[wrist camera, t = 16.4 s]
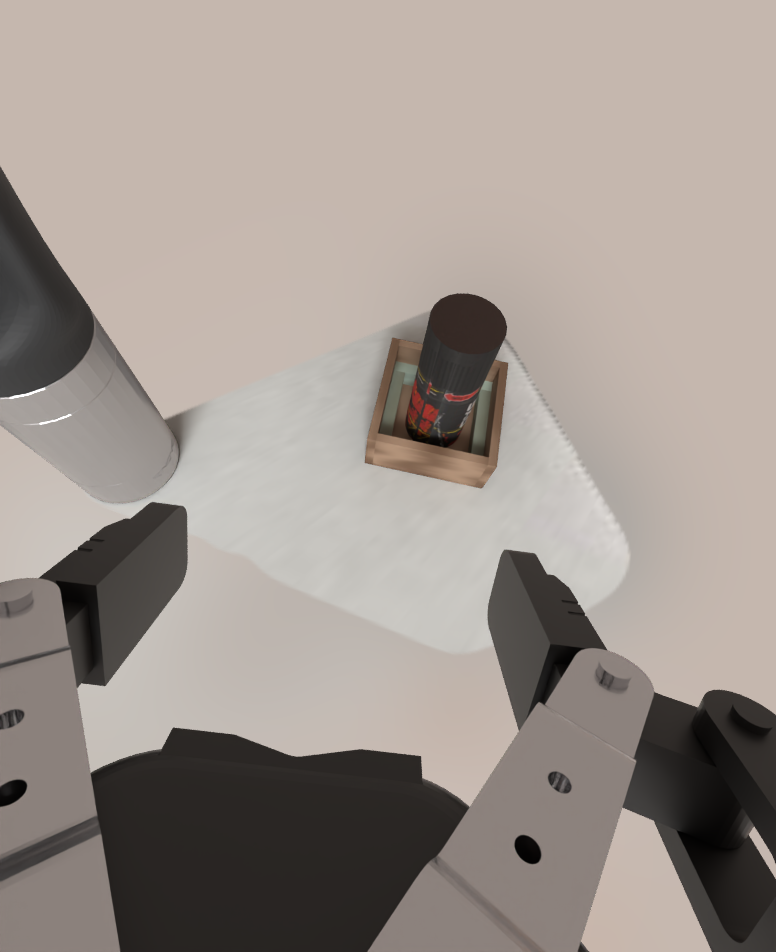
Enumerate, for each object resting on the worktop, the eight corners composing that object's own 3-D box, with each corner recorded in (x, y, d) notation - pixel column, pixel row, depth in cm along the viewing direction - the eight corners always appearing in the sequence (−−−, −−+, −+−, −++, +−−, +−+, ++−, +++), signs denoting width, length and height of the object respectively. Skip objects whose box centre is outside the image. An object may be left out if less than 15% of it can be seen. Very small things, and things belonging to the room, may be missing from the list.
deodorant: (414, 393, 51) (440, 284, 37) (467, 410, 50) (513, 306, 37) (397, 439, 48) (420, 340, 34) (453, 456, 48) (498, 364, 34)
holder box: (364, 462, 47) (367, 438, 43) (388, 368, 52) (392, 337, 48) (481, 488, 47) (496, 467, 43) (493, 391, 52) (508, 363, 48)
